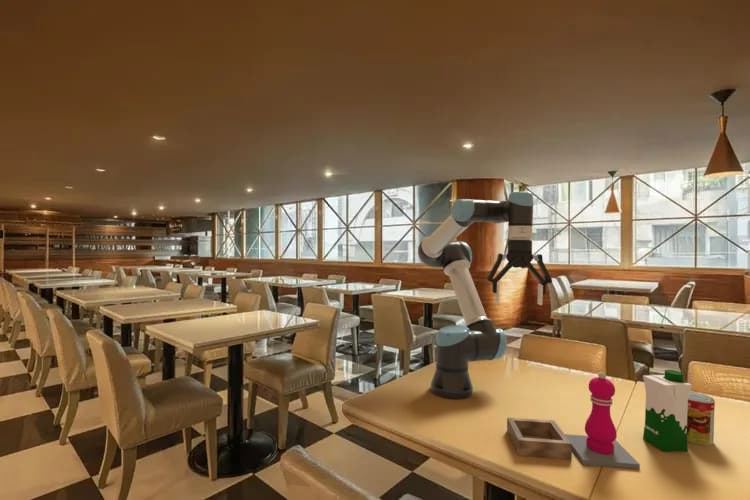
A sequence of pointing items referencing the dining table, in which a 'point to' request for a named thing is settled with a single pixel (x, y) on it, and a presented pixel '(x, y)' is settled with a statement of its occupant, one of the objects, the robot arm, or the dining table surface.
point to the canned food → (700, 419)
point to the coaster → (597, 459)
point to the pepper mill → (601, 416)
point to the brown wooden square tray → (539, 447)
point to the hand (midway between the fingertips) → (518, 303)
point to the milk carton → (666, 411)
